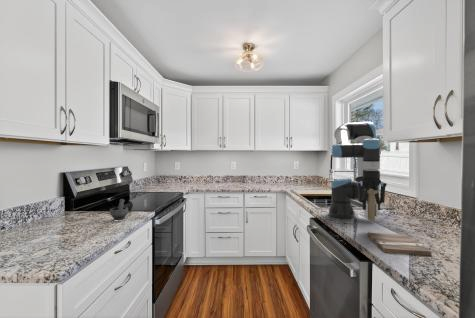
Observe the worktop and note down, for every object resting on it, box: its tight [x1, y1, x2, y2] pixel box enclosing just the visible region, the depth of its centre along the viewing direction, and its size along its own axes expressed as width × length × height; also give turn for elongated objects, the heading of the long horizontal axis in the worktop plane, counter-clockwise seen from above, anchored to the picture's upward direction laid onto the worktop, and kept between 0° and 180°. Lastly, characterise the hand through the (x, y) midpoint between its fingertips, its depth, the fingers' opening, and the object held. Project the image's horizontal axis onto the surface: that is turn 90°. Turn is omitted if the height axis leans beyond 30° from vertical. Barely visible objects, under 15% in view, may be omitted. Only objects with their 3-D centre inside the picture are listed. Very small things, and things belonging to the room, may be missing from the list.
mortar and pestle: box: [109, 198, 129, 221], centre depth 144 cm, size 11×9×12 cm
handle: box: [364, 189, 378, 221], centre depth 120 cm, size 5×6×15 cm
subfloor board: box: [367, 231, 432, 256], centre depth 101 cm, size 20×16×2 cm
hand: (371, 216), depth 120 cm, fingers closed on handle, 4 cm apart
